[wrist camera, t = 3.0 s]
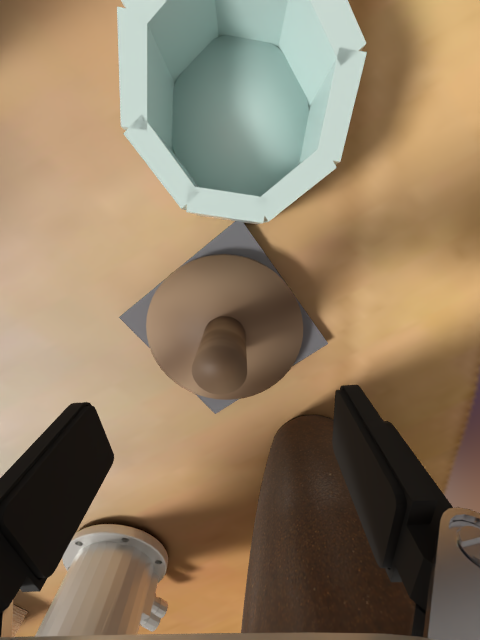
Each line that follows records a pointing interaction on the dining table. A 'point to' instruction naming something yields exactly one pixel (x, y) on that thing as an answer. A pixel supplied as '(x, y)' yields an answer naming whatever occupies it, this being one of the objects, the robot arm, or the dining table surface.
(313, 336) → the mat
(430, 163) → the dining table surface
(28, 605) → the dining table surface
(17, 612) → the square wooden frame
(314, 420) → the plant pot
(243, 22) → the bowl
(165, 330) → the lid
